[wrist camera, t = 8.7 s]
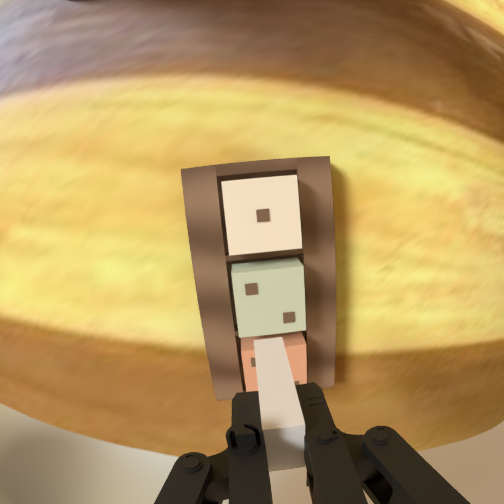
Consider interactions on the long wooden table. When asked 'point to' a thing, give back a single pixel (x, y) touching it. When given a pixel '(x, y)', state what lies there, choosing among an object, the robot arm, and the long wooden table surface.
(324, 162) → the brown wooden tray
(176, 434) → the long wooden table surface
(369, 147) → the long wooden table surface
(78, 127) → the long wooden table surface
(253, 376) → the button three terracotta
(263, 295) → the button two sage
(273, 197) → the button one cream
